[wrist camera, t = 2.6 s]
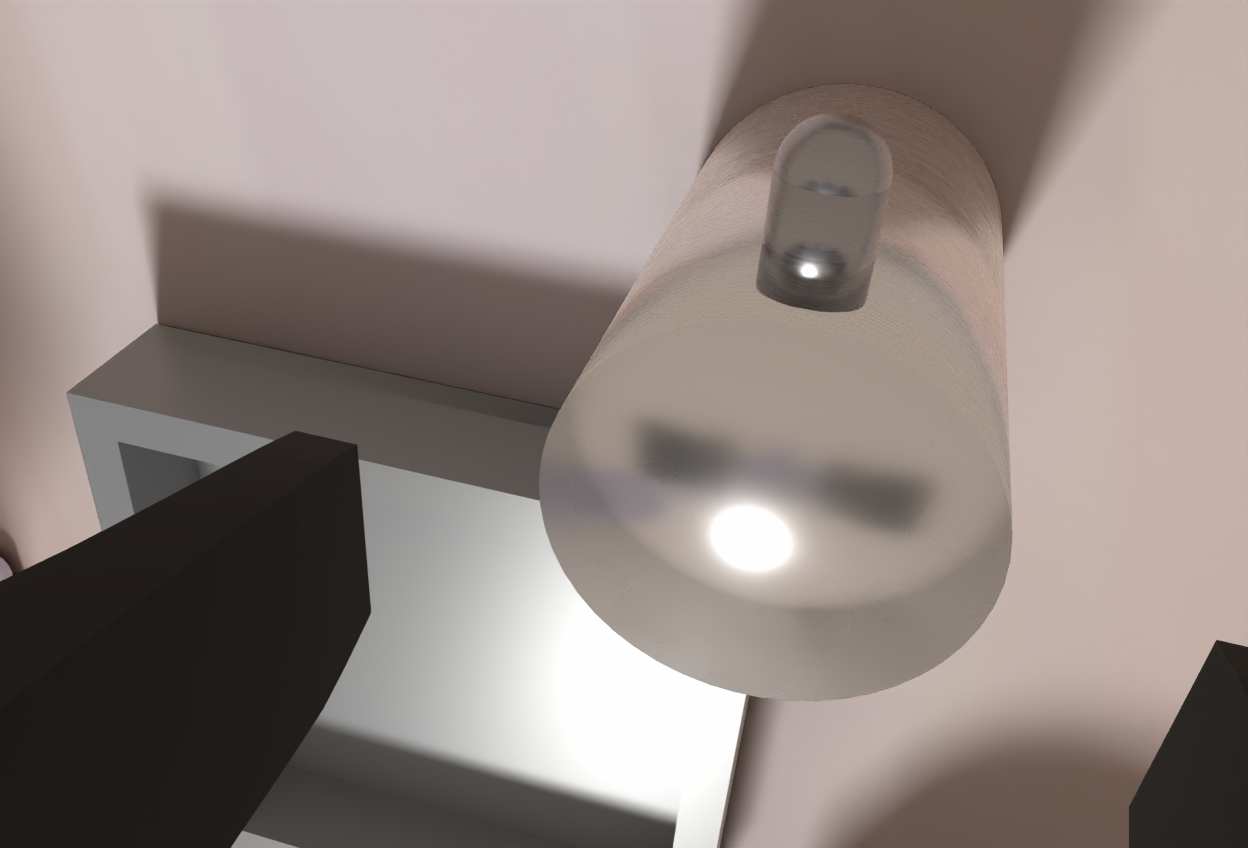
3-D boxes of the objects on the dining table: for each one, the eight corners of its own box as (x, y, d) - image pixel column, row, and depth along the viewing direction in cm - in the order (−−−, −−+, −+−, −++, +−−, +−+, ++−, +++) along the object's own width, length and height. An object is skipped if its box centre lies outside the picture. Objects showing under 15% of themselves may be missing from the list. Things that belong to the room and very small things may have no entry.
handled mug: (675, 342, 18) (533, 642, 12) (719, -58, 14) (552, 101, 9) (958, 398, 17) (946, 746, 11) (1076, -12, 14) (1141, 196, 8)
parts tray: (238, 748, 27) (178, 832, 25) (156, 323, 21) (66, 392, 19) (713, 883, 25) (689, 986, 23) (796, 460, 18) (773, 554, 16)
